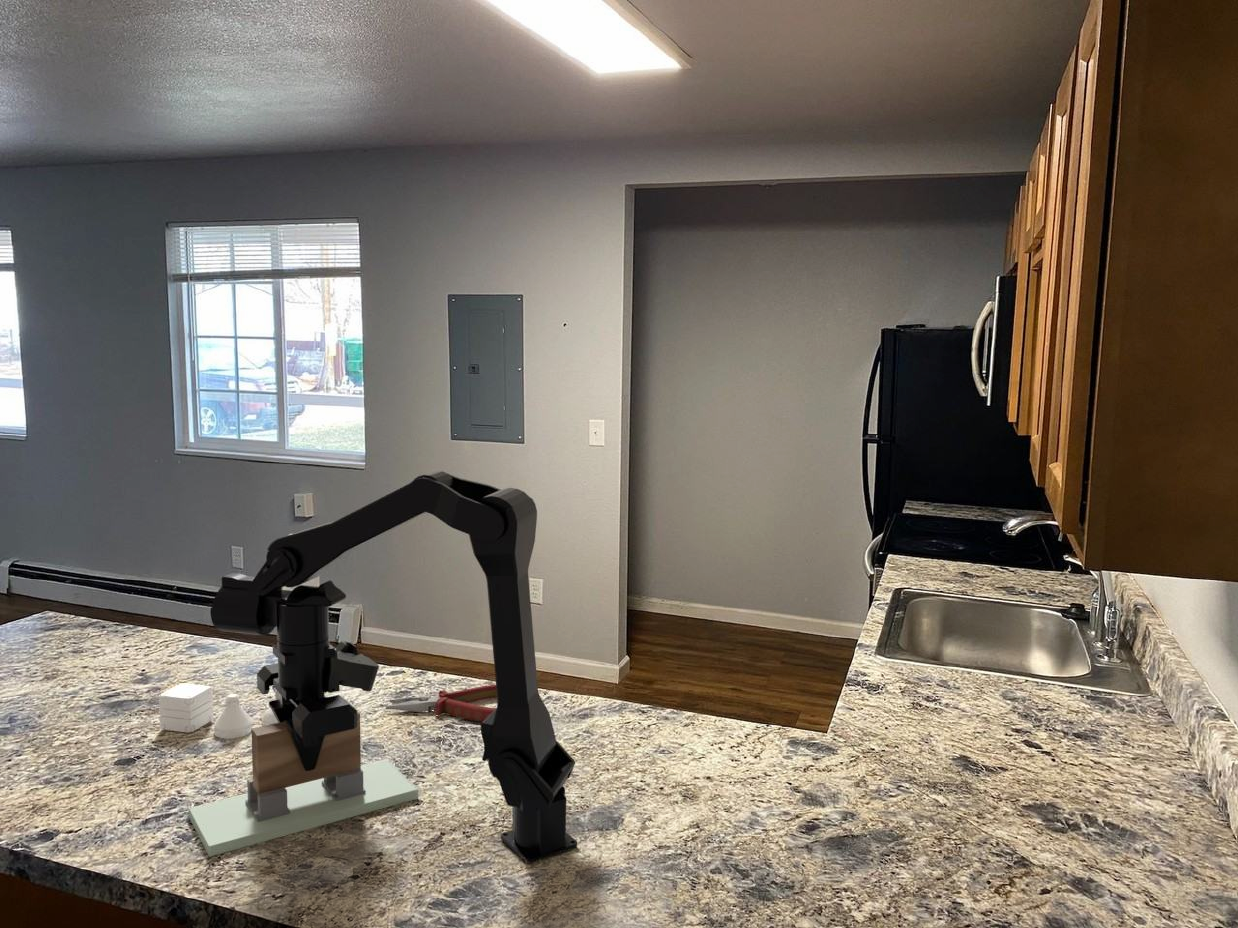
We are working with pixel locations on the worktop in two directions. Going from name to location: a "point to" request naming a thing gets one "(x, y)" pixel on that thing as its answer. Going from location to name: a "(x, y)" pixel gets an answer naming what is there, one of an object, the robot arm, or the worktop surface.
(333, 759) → the brown wooden block
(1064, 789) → the worktop surface
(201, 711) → the container set
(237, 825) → the hinge base
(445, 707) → the pliers
